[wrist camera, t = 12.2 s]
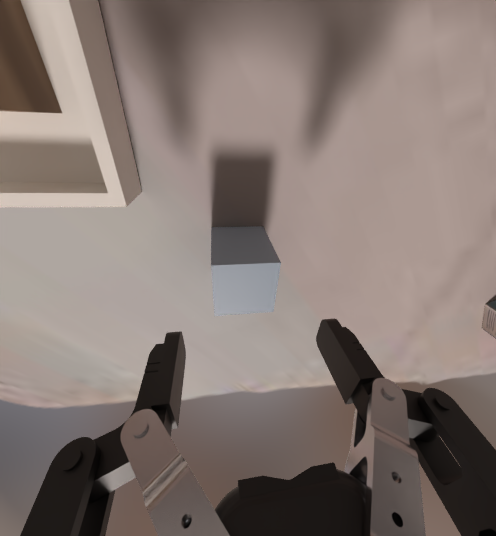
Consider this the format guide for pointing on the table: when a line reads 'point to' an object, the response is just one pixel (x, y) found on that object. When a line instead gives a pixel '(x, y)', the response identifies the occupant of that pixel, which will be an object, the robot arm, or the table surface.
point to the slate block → (243, 270)
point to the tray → (69, 119)
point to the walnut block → (22, 65)
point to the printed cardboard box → (490, 318)
